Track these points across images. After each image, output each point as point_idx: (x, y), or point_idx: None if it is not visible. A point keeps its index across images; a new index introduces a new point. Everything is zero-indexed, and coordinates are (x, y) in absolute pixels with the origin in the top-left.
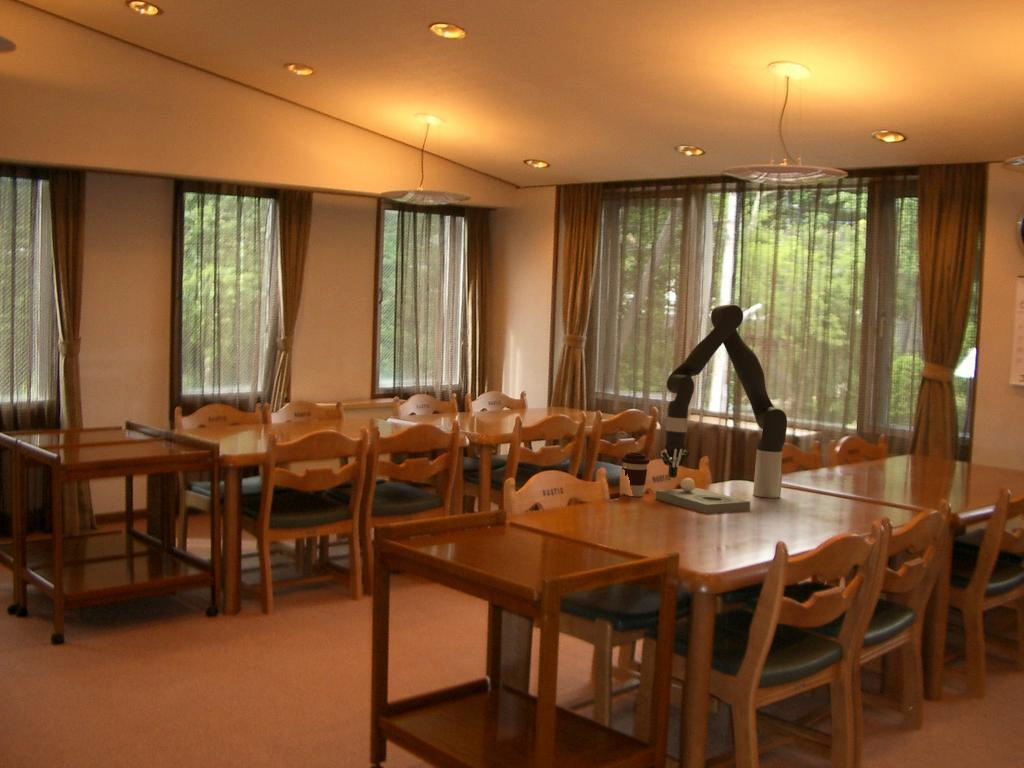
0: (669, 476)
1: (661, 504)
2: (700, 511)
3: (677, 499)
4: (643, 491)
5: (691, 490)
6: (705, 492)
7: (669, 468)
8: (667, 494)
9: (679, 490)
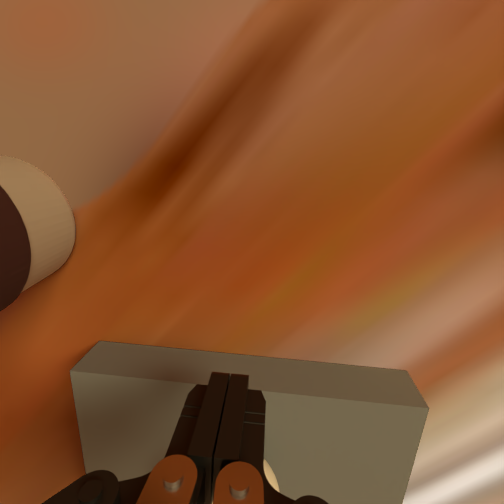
0: (212, 375)
1: (50, 434)
2: None
3: None
4: (49, 272)
5: None
6: (336, 500)
7: (168, 455)
8: (85, 446)
9: None
